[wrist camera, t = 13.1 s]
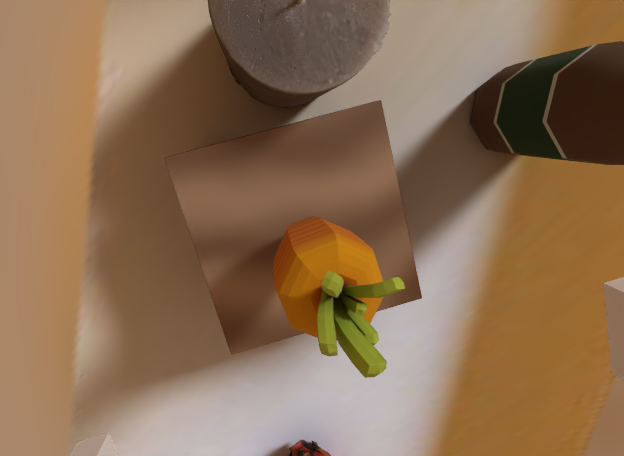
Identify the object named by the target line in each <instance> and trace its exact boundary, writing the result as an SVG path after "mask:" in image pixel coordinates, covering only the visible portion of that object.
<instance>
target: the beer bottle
mask: <svg viewBox="0 0 624 456" xmlns="http://www.w3.org/2000/svg"><path fill="white" fill-rule="evenodd" d="M470 123H471V124H472V126H473V128H474V129H475V131H476V133H477V134H478V136H479V138H480V139H481V141H482V143H483V144H484V146H485V148H486V149H488V150H493V151H498V152H505V153H511V154H518V155H524V156H532V157H541V158H550V159H560V160H569V161H578V162H587V163H596V164H605V165H624V42H621V41H619V42H612V43H604V44H597V45H593V46H589V47H585V48H580V49H576V50H572V51H568V52H564V53H560V54H556V55H551V56H547V57H543V58H539V59H535V60H531V61H527V62H522V63H518V64H515V65H512V66H509V67H506V68H504V69H503V70H502V71H500V72H499V73H498V74H496V75H495V76H494V77H492V78H491V79H490V80H488V81H487V82H486V83H484V84H483V85H482V86H481V87H479V88H478V89H477V93H476V98H475V103H474V107H473V112H472V117H471V121H470Z"/></svg>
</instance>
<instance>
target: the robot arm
mask: <svg viewBox="0 0 624 456" xmlns="http://www.w3.org/2000/svg"><path fill="white" fill-rule="evenodd" d="M604 295H605V306H606V317H607V329H608V340H609V351H610V363H611V373H613V374H614V375H615V376H617V377H618V378H620V379H621V380H623V381H624V277H622V278H618V279H615V280H612V281H609V282H605V283H604ZM70 456H119V454H118V452H117V450H116V448H115V445H114V443H113V441H112V439H111V437H110V434H109V432H108V433H104V434H101V435H98V436H94V437H91V438H88V439H84V440H81V441H78V442H77V443H76V445H75V447H74V449H73V450H72V452H71V454H70Z"/></svg>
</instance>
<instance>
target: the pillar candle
mask: <svg viewBox="0 0 624 456" xmlns="http://www.w3.org/2000/svg"><path fill="white" fill-rule="evenodd" d="M208 6H209V13H210V17H211V21H212V24H213V27H214V30H215V33H216V35H217V38H218V41H219V43H220V46H221V48H222V50H223V52H224V54H225V57H226V59H227V62H228V65H229V68H230V71H231V73H232V75H233V76H234V78H235V80H236V81H237V83H238V84H240V85H242V86H243V87H244V89H246V90H247V91H248V93H249V94H250V95H251V96H252V97H253V98H255V99H257V100H259V101H261V102H263V103H266V104H268V105H272V106H278V107H292V106H298V105H302V104H305V103H307V102H309V101H312V100H314V99H315V98H317V97H319V96H321V95H323V94H325V93H327V92H328V91H330V90H332V89H334V88H336V87H338V86H340V85H342V84H343V83H345V82H346V81H348V80H349V79H351V78H352V77H353V76H355V75H356V74H357V73H358V72H359V71H360V70H361V69H362V68H363V67H364V66H365V65H366V64H367V62H368V61H369V60H370V59H371V57H372V56H373V55H374V54H375V53H376V52H378V51H379V49H380V48H381V45H382V39H383V38H384V37H385V35H386V34H387V30H388V27H389V20H388V18H389V16H390V11H389V9H390V0H208Z"/></svg>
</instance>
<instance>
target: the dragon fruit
mask: <svg viewBox="0 0 624 456" xmlns="http://www.w3.org/2000/svg"><path fill="white" fill-rule="evenodd" d="M289 449H290V450H291V452H290V454H289V456H331V455H330V454H329V453H328V452H326V451H324V450H322V449H321V448H320V447H319V446H318V445H317V443H316V442H313V441H312V445H310V446H309V444H308V443H307V442H306V441H304V440H300V441H299V442H298V443H296V444H295V445H293V446H292V447H290V448H289Z"/></svg>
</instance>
